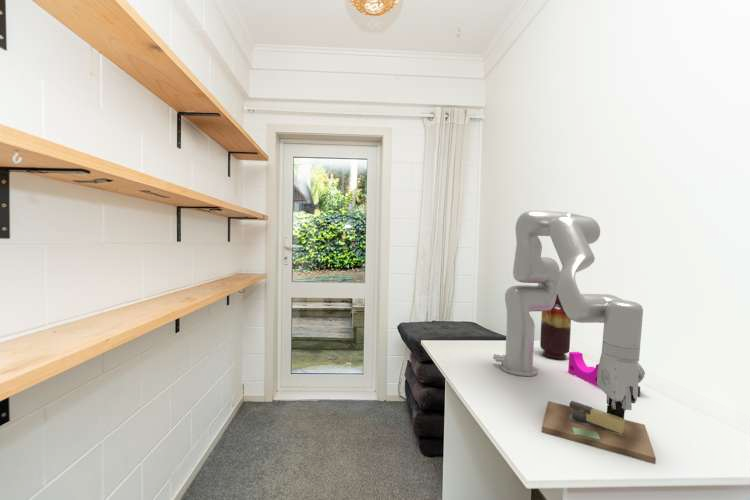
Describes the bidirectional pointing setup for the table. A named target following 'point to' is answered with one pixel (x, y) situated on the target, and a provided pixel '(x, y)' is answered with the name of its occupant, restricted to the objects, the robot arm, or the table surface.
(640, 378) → the watch
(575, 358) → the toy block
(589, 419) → the lever handle
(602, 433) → the wooden lever switch board
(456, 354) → the table surface
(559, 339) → the vase
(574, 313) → the robot arm
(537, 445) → the table surface
